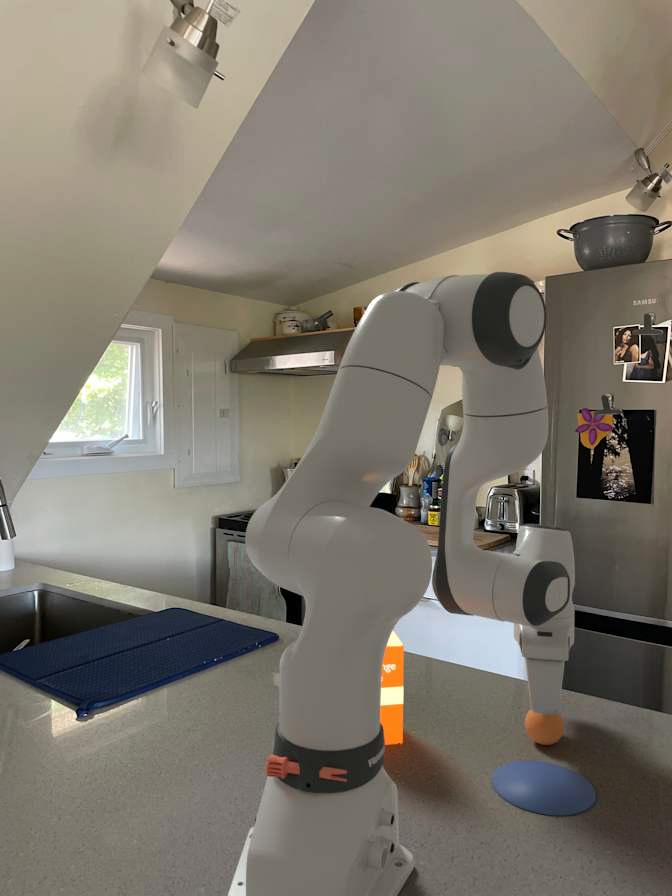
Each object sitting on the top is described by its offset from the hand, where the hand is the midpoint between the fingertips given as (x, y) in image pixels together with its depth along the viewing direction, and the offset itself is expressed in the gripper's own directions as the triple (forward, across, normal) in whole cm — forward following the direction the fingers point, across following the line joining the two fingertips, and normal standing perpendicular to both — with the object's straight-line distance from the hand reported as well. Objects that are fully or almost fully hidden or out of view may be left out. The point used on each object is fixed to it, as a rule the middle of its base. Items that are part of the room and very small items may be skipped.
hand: (542, 717), depth 107 cm
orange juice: (+2, +8, -25) cm, 27 cm away
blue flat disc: (+2, +17, 0) cm, 17 cm away
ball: (-1, +4, 0) cm, 4 cm away
